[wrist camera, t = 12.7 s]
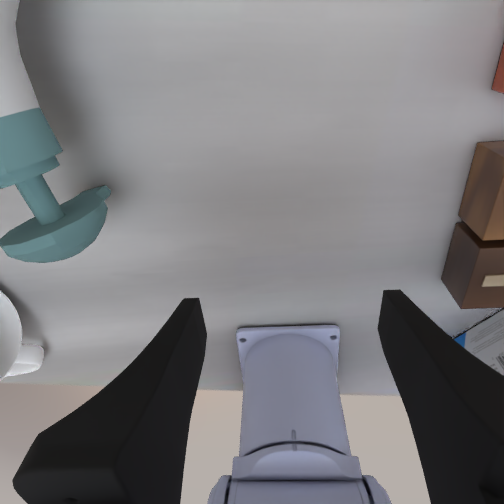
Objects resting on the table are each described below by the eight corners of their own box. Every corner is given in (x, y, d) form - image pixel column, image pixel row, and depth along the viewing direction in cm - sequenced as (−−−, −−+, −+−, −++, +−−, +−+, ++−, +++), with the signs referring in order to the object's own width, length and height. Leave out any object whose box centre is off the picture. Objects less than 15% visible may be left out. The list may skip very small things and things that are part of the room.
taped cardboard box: (508, 276, 24) (538, 307, 21) (440, 279, 24) (461, 310, 22) (532, 218, 22) (568, 245, 19) (455, 222, 22) (480, 249, 19)
